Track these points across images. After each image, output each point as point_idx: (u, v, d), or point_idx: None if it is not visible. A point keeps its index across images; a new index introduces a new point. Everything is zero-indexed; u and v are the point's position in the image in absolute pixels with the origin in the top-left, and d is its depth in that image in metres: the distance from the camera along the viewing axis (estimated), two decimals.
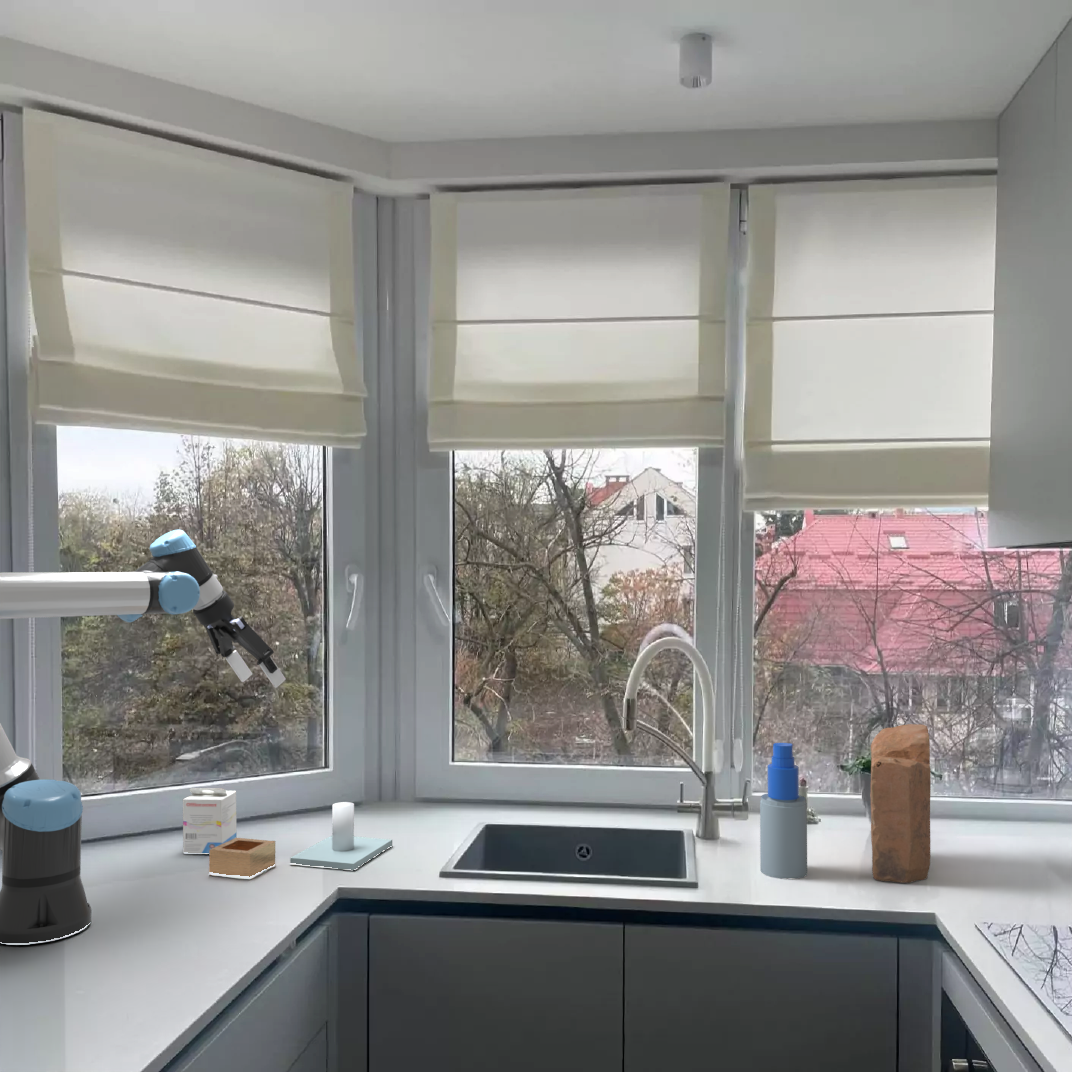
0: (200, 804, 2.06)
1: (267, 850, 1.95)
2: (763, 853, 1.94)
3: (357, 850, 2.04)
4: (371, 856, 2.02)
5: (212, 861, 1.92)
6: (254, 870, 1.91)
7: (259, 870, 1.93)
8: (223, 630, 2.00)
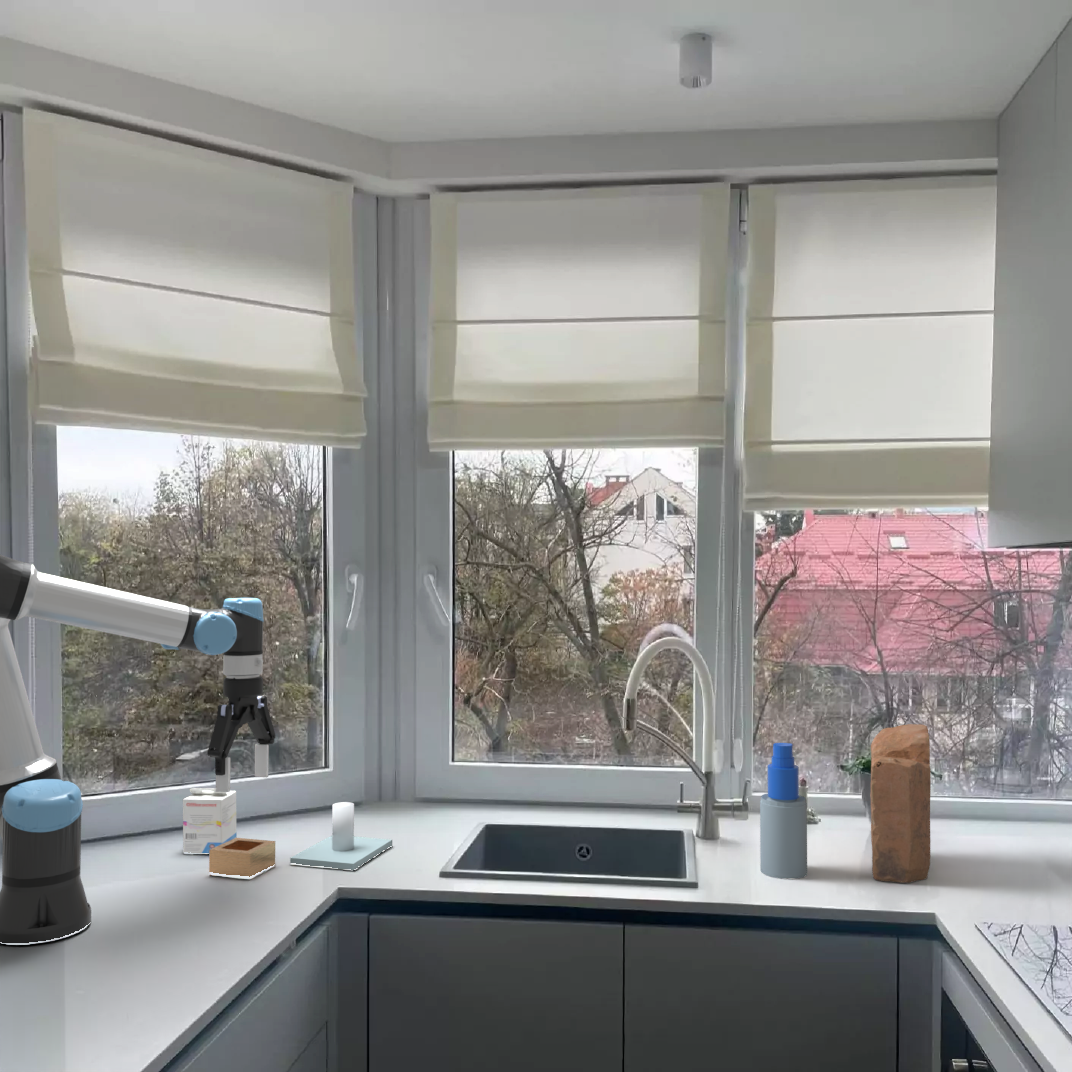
0: (200, 804, 2.06)
1: (267, 850, 1.95)
2: (763, 853, 1.94)
3: (357, 850, 2.04)
4: (371, 856, 2.02)
5: (212, 861, 1.92)
6: (254, 870, 1.91)
7: (259, 870, 1.93)
8: None
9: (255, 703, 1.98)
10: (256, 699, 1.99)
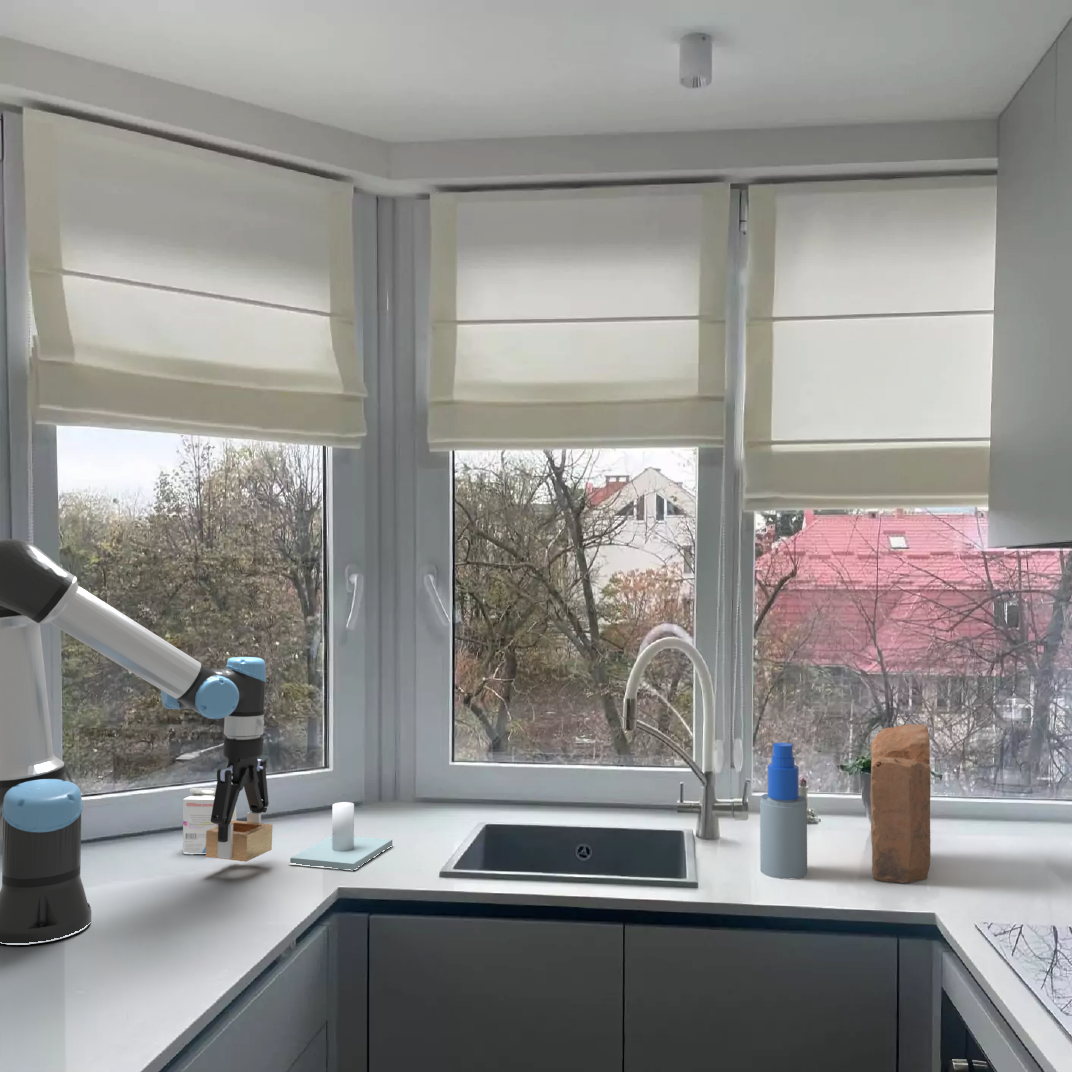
0: (200, 804, 2.06)
1: (264, 833, 1.95)
2: (763, 853, 1.94)
3: (357, 850, 2.04)
4: (371, 856, 2.02)
5: (209, 842, 1.92)
6: (251, 852, 1.91)
7: (255, 852, 1.92)
8: None
9: (255, 763, 1.98)
10: (256, 759, 1.98)
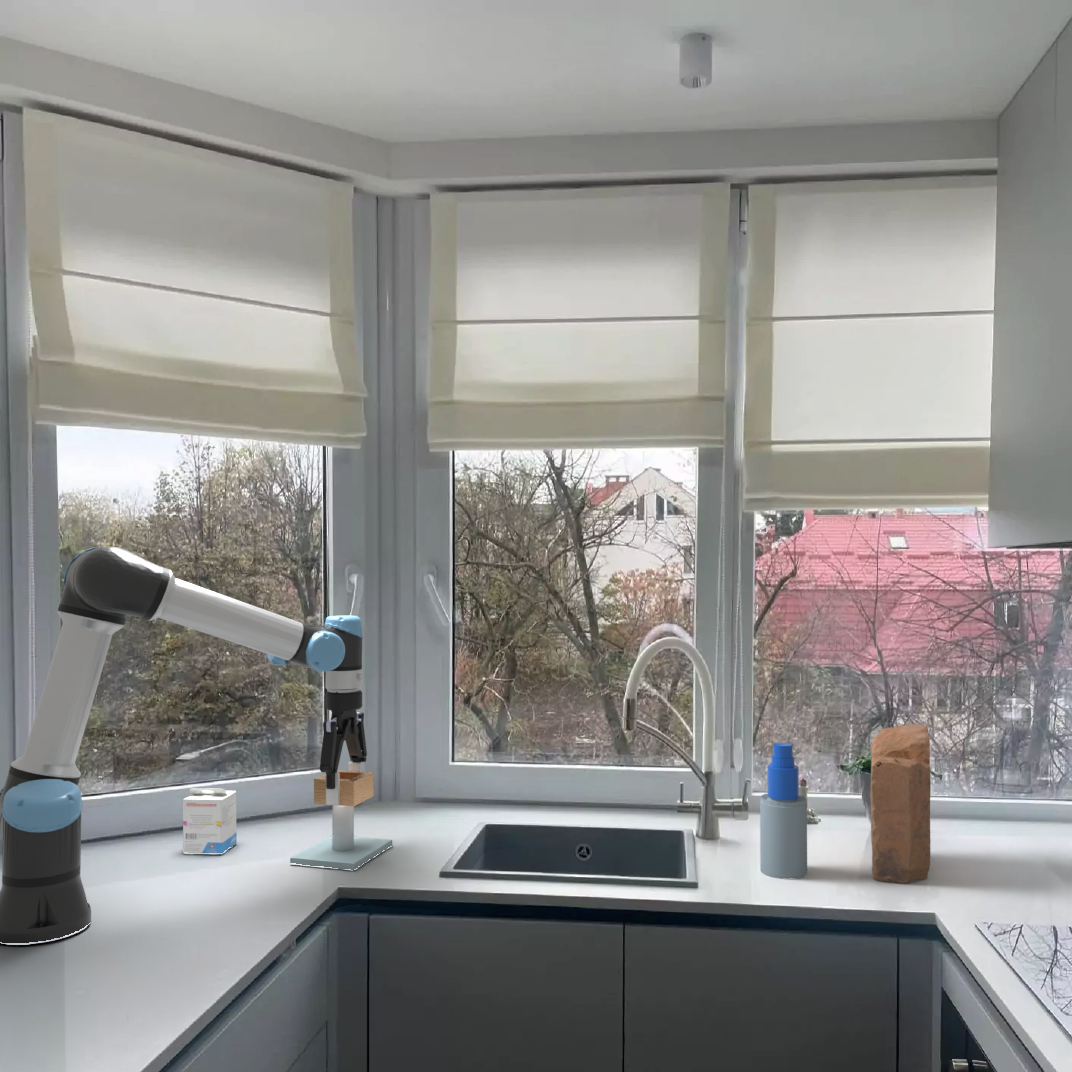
0: (200, 804, 2.06)
1: (367, 780, 2.06)
2: (763, 853, 1.94)
3: (357, 850, 2.04)
4: (371, 856, 2.02)
5: (317, 790, 2.03)
6: (357, 798, 2.02)
7: (361, 798, 2.04)
8: None
9: (354, 715, 2.09)
10: (355, 712, 2.09)
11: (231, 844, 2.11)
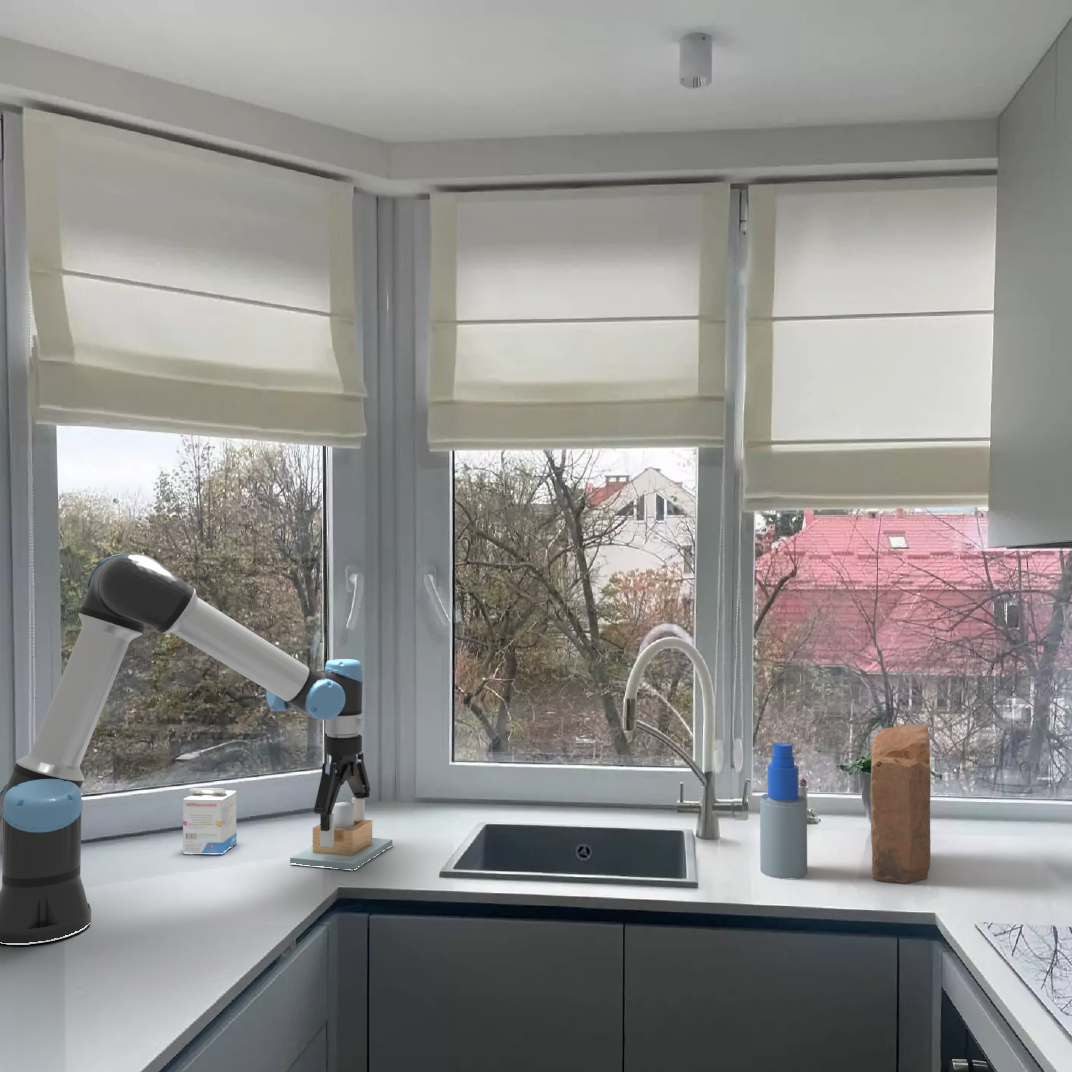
0: (200, 804, 2.06)
1: (366, 828, 2.06)
2: (763, 853, 1.94)
3: None
4: (371, 856, 2.02)
5: (316, 839, 2.02)
6: (356, 847, 2.02)
7: (360, 847, 2.03)
8: None
9: (354, 760, 2.08)
10: (355, 756, 2.09)
11: (231, 844, 2.11)
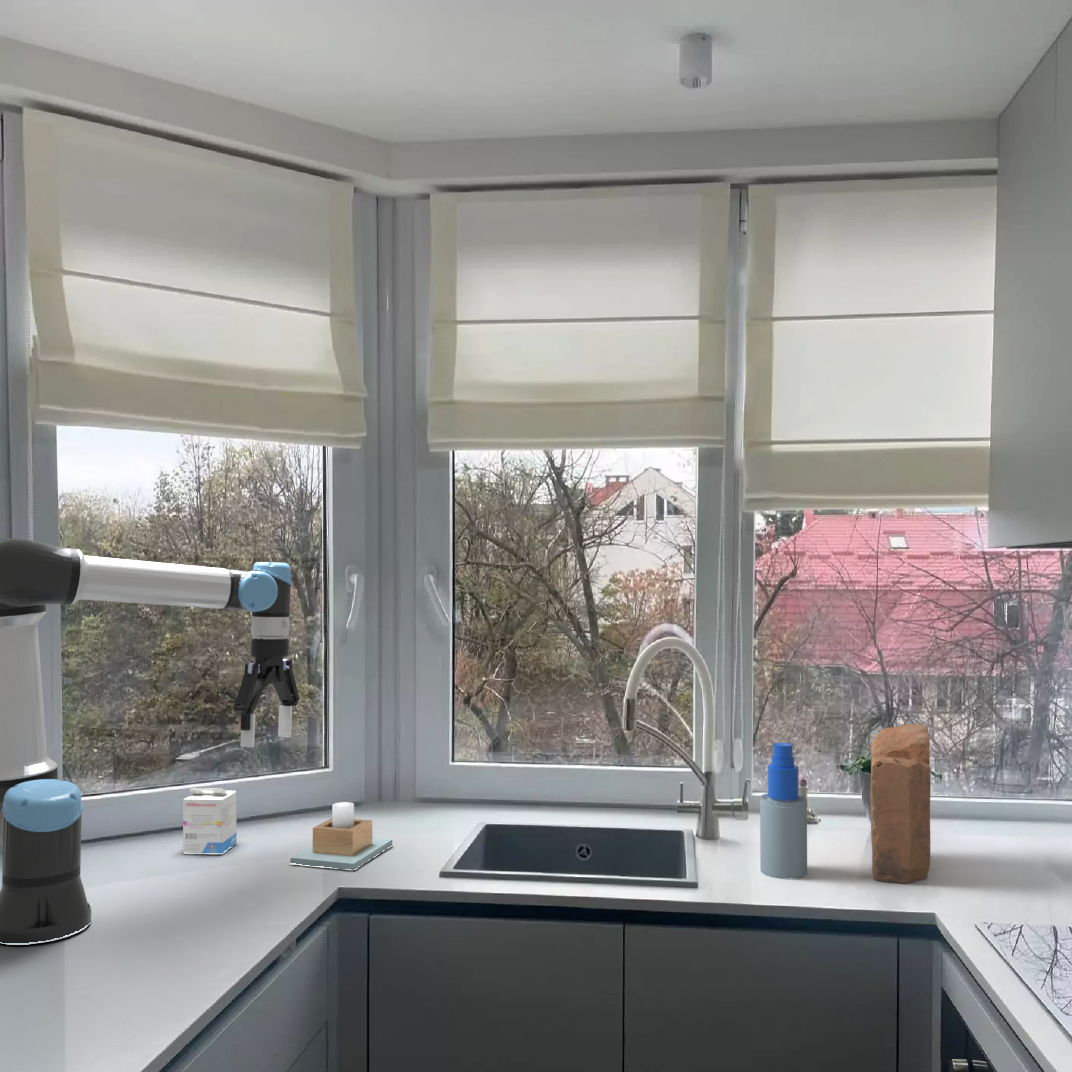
0: (200, 804, 2.06)
1: (366, 828, 2.06)
2: (763, 853, 1.94)
3: None
4: (371, 856, 2.02)
5: (316, 839, 2.02)
6: (356, 847, 2.02)
7: (360, 847, 2.03)
8: None
9: (281, 664, 2.06)
10: (282, 661, 2.06)
11: (231, 844, 2.11)
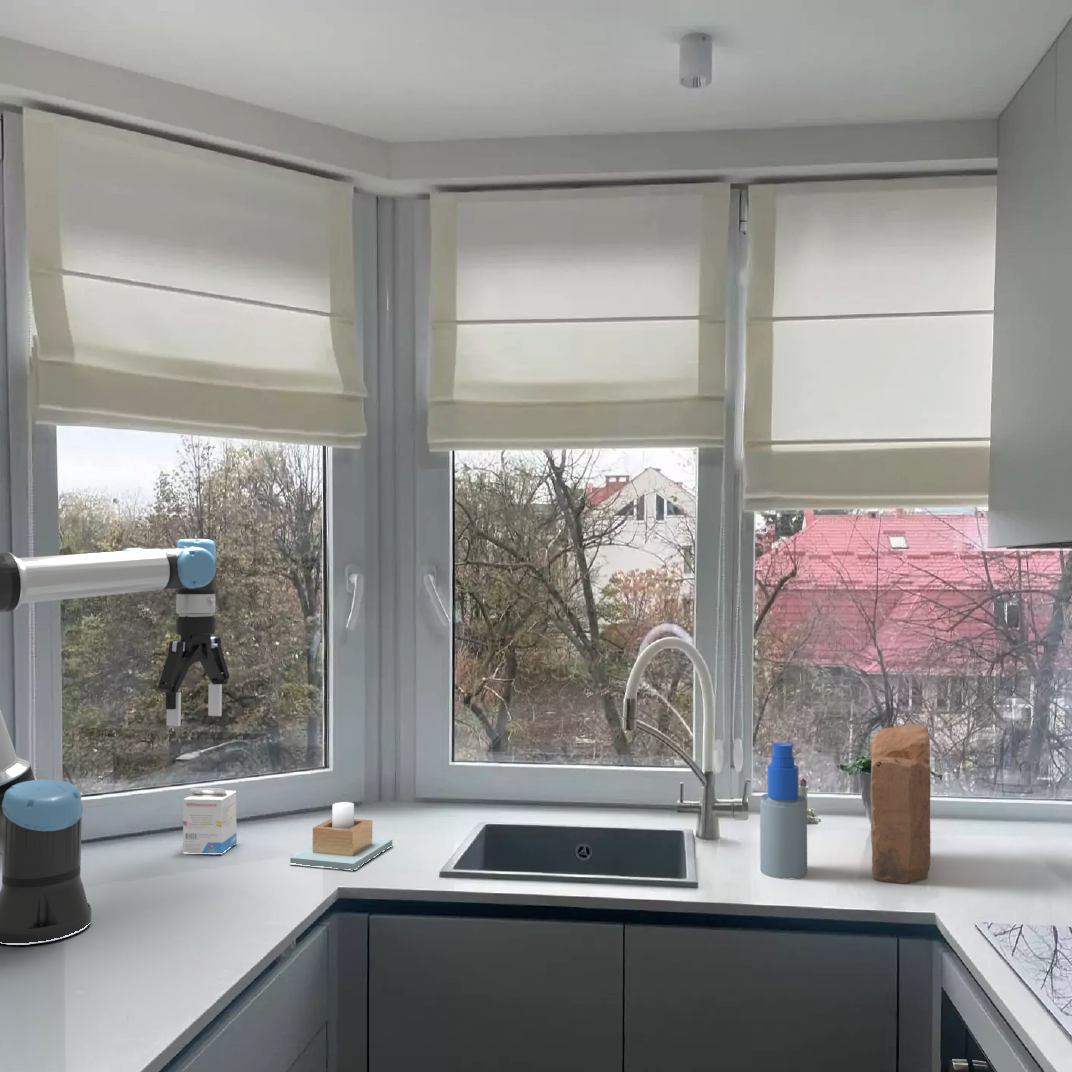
0: (200, 804, 2.06)
1: (366, 828, 2.06)
2: (763, 853, 1.94)
3: None
4: (371, 856, 2.02)
5: (316, 839, 2.02)
6: (356, 847, 2.02)
7: (360, 847, 2.03)
8: None
9: (208, 642, 2.03)
10: (209, 639, 2.03)
11: (231, 844, 2.11)
